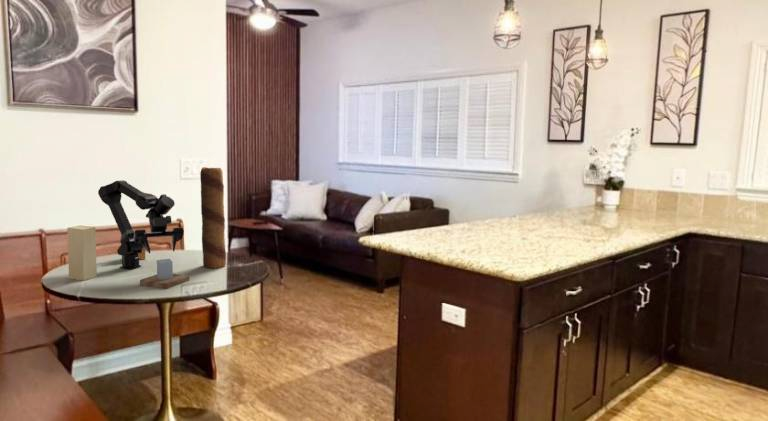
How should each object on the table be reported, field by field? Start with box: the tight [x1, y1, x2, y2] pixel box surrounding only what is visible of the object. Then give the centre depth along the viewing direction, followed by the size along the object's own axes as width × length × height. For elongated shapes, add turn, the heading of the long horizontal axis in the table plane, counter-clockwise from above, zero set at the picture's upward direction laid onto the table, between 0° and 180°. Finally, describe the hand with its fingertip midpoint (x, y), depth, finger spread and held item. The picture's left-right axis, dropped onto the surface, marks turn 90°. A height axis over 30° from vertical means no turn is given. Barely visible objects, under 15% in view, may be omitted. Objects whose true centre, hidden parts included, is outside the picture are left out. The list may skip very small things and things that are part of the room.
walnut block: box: [139, 273, 190, 290], centre depth 216 cm, size 13×13×2 cm
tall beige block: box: [66, 225, 98, 282], centre depth 218 cm, size 8×7×21 cm
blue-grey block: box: [156, 258, 174, 280], centre depth 215 cm, size 5×5×7 cm
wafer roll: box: [199, 167, 227, 269], centre depth 242 cm, size 10×11×45 cm
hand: (162, 251), depth 218 cm, fingers open, 9 cm apart
